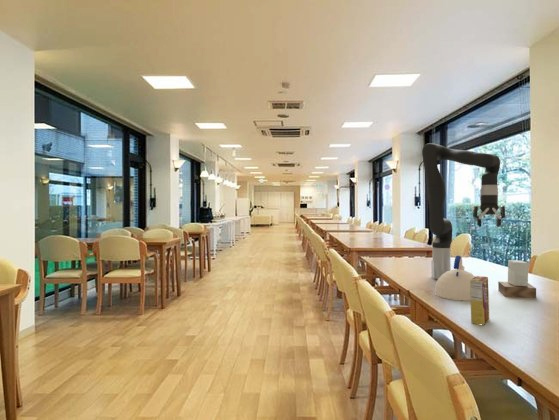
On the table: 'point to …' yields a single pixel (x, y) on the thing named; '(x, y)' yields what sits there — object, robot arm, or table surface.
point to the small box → (518, 273)
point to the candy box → (479, 300)
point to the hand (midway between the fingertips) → (488, 226)
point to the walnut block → (516, 290)
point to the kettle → (455, 283)
